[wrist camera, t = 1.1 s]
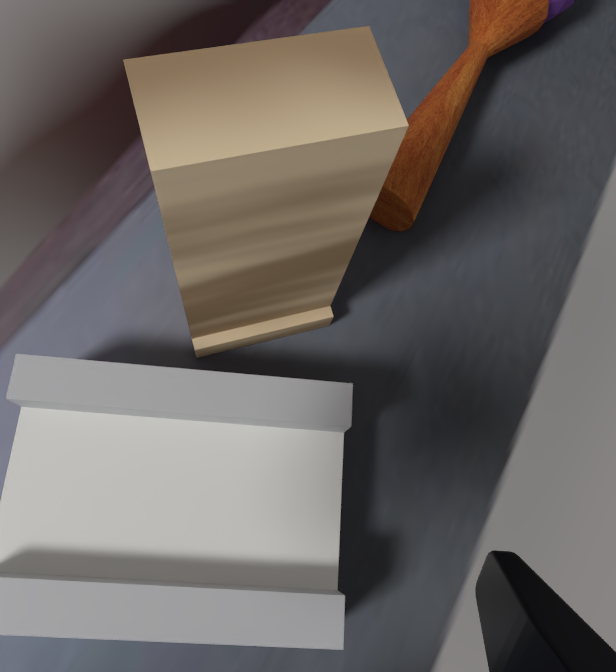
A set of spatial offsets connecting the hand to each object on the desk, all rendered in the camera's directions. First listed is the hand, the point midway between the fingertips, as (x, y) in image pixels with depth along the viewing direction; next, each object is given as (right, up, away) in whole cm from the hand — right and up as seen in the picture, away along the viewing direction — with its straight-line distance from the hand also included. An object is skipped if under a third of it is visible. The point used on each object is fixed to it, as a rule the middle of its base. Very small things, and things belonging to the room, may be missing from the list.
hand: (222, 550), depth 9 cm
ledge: (-4, -3, +13) cm, 14 cm away
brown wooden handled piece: (+9, +17, +22) cm, 29 cm away
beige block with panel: (-1, +5, +16) cm, 17 cm away
